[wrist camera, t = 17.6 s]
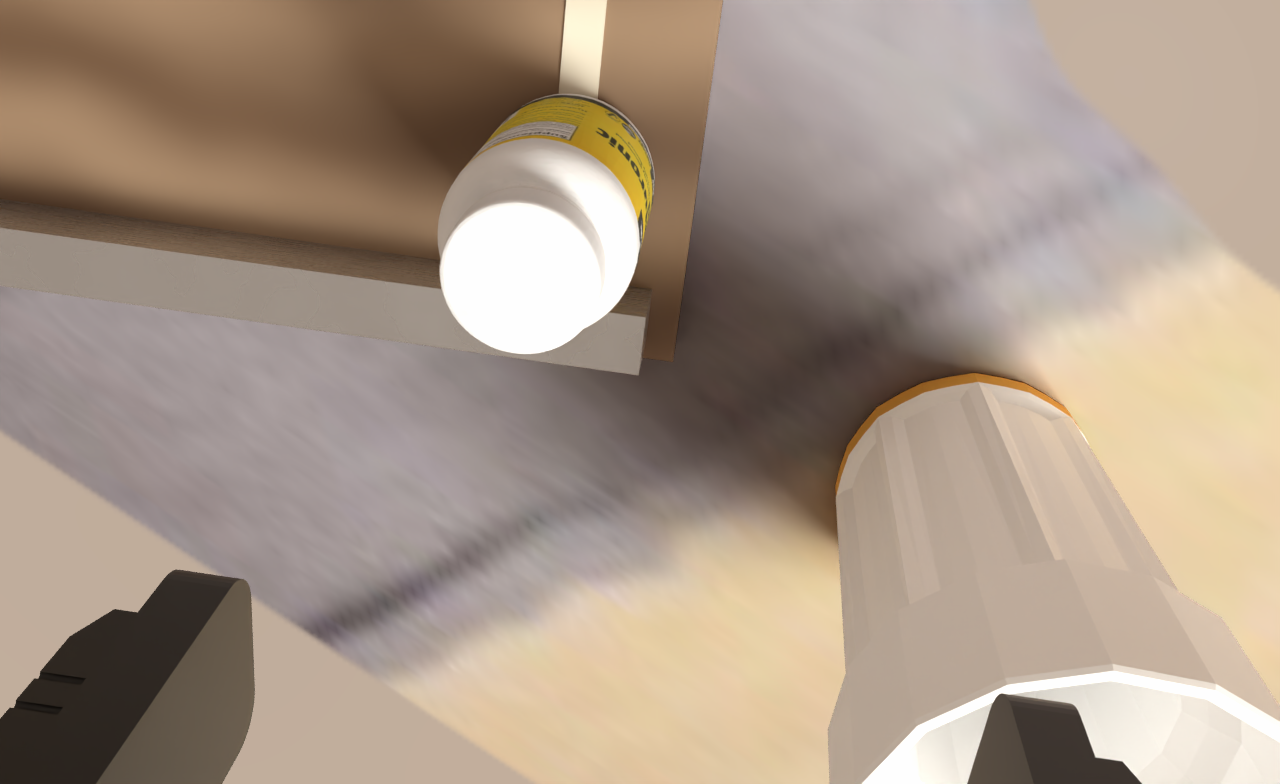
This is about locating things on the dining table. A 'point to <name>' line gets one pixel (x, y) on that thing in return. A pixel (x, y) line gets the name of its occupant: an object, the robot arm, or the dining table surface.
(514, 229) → the supplement bottle
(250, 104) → the brown flat wooden board
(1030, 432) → the cup
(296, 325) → the metal straightedge
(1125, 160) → the dining table surface
